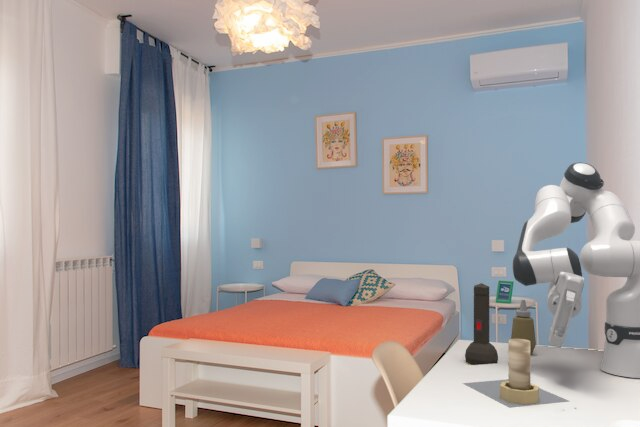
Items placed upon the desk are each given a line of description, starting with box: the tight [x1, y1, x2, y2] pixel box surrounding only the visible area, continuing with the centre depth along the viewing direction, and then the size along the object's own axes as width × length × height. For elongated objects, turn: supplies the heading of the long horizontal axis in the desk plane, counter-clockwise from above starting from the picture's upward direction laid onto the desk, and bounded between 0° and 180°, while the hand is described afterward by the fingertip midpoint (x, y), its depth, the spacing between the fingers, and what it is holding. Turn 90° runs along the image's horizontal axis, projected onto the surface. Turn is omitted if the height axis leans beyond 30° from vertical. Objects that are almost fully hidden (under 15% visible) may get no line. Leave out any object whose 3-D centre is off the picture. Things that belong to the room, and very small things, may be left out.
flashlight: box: [464, 282, 499, 366], centre depth 172 cm, size 10×25×10 cm
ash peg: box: [508, 338, 531, 390], centre depth 133 cm, size 5×5×14 cm
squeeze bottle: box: [510, 299, 537, 356], centre depth 184 cm, size 8×8×18 cm
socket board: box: [462, 378, 569, 408], centre depth 138 cm, size 17×20×4 cm
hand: (564, 319), depth 141 cm, fingers open, 8 cm apart
